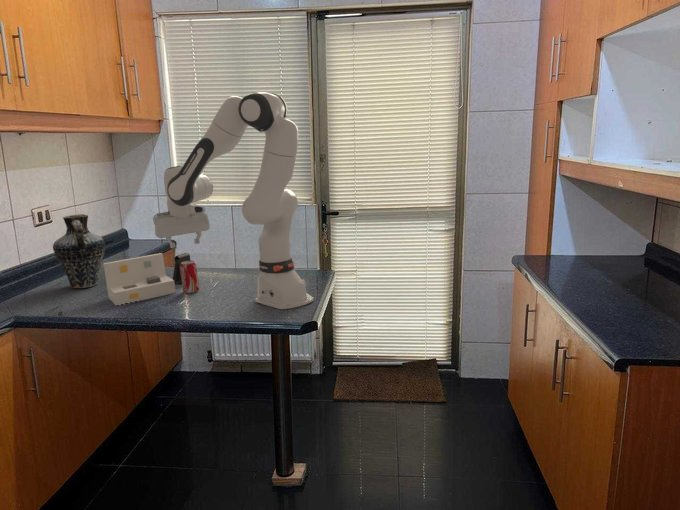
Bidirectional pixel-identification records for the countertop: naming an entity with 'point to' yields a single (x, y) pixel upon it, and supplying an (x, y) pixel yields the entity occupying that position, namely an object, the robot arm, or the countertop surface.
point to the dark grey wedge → (178, 261)
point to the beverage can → (189, 277)
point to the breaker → (153, 279)
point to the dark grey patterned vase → (80, 252)
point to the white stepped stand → (137, 279)
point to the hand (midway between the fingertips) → (185, 245)
